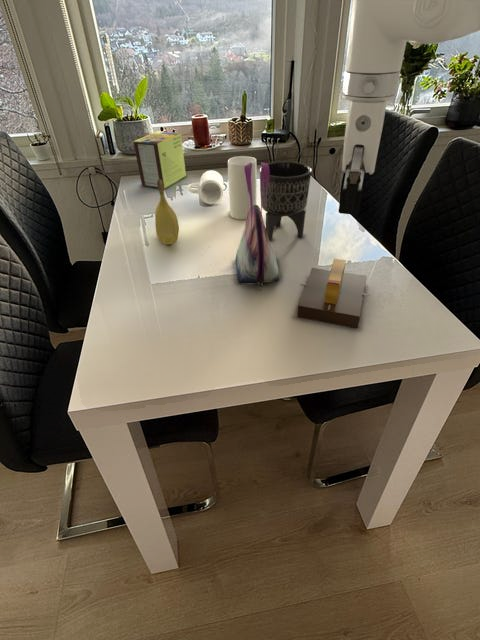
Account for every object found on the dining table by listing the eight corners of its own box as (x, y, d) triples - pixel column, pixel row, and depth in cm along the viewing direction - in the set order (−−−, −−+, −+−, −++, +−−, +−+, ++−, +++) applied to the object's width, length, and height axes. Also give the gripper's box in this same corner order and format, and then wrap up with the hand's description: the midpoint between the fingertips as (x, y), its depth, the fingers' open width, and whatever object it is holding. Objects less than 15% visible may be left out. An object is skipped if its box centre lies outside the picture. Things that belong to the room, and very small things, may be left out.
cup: (225, 216, 115) (222, 162, 105) (237, 206, 121) (236, 154, 111) (249, 221, 112) (248, 166, 102) (260, 211, 118) (261, 157, 107)
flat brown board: (306, 277, 87) (307, 266, 85) (369, 287, 83) (372, 275, 81) (291, 316, 76) (292, 303, 74) (363, 329, 72) (366, 317, 70)
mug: (224, 193, 130) (222, 169, 125) (224, 204, 123) (222, 179, 118) (189, 194, 130) (187, 171, 125) (187, 205, 123) (184, 181, 118)
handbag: (284, 295, 82) (290, 180, 66) (238, 298, 82) (234, 183, 66) (272, 248, 98) (274, 147, 83) (234, 250, 98) (229, 150, 82)
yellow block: (331, 276, 82) (334, 257, 79) (342, 278, 81) (346, 258, 78) (324, 302, 75) (327, 282, 72) (336, 304, 74) (339, 284, 71)
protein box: (186, 175, 146) (181, 132, 136) (164, 189, 135) (157, 143, 125) (164, 173, 149) (157, 130, 140) (140, 185, 139) (132, 140, 129)
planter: (309, 226, 108) (316, 163, 97) (299, 247, 99) (305, 179, 87) (266, 221, 112) (268, 159, 100) (253, 241, 102) (252, 174, 91)
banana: (154, 225, 112) (141, 155, 99) (174, 222, 113) (163, 153, 100) (162, 262, 95) (147, 183, 82) (184, 259, 96) (173, 180, 83)
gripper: (398, 97, 46) (371, 225, 57) (396, 78, 59) (374, 186, 70) (337, 95, 48) (322, 220, 59) (347, 77, 61) (333, 183, 72)
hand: (350, 201), depth 64 cm, fingers open, 9 cm apart
